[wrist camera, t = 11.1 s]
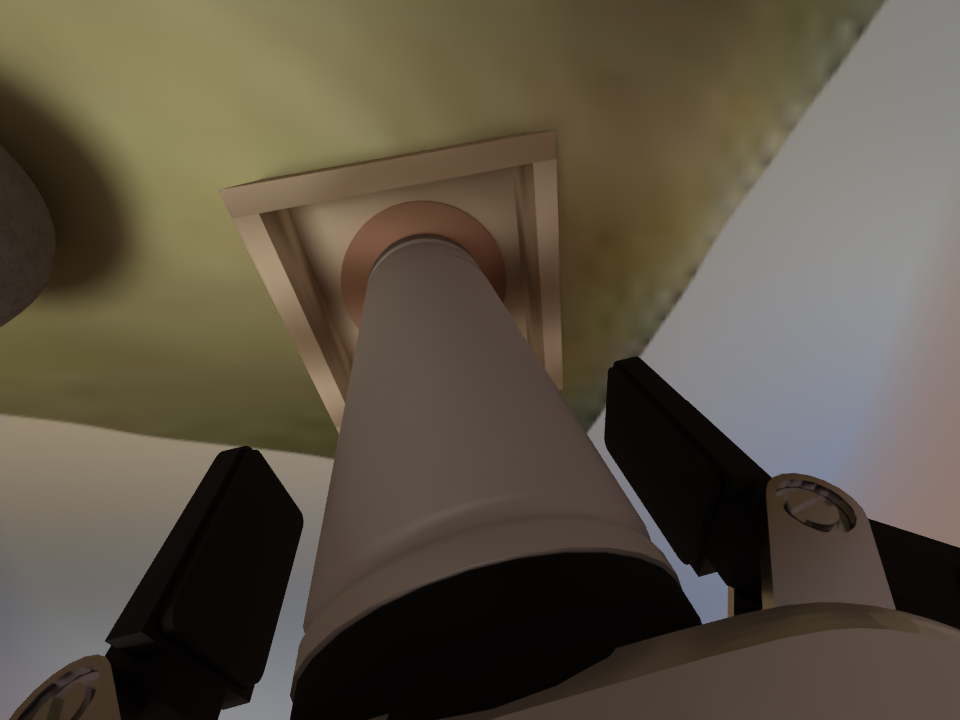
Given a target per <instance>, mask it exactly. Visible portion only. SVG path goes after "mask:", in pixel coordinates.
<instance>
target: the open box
mask: <svg viewBox="0 0 960 720" xmlns="http://www.w3.org/2000/svg"><path fill="white" fill-rule="evenodd" d="M218 191H219V193H220V195H221V197H222V199H223V201H224V203H225V205H226V207H227V209H228V211H229V213H230V215H231V217H232V219H233V221H234V223H235V225H236V227H237V229H238V231H239V233H240V235H241V237H242V239H243V241H244V243H245V245H246V247H247V249H248V251H249V253H250V255H251V257H252V259H253V261H254V263H255V265H256V267H257V269H258V271H259V273H260V275H261V277H262V279H263V281H264V283H265V285H266V287H267V289H268V291H269V293H270V295H271V297H272V300H273V302H274V304H275V306H276V308H277V310H278V312H279V314H280V316H281V318H282V320H283V322H284V324H285V326H286V328H287V330H288V332H289V334H290V336H291V338H292V340H293V342H294V344H295V346H296V348H297V350H298V352H299V354H300V356H301V358H302V360H303V362H304V364H305V366H306V368H307V370H308V372H309V374H310V376H311V378H312V380H313V382H314V384H315V386H316V388H317V390H318V392H319V394H320V396H321V398H322V400H323V402H324V404H325V406H326V409H327V411H328V413H329V415H330V417H331V419H332V421H333V423H334V425H335V427H336V429H337V431H338V433H340V428H341V423H342V417H343V412H344V407H345V401H346V396H347V391H348V386H349V380H350V375H351V370H352V364H353V359H354V354H355V348H356V343H357V338H358V333H359V327H360V322H361V317H362V311H363V306H364V301H365V296H366V290H367V285H368V280H369V274H370V271H371V269H372V267H373V264H374V262H375V261H376V260H377V258H378V257H379V255H380V254H381V253H382V252H383V251H384V250H385V249H386V248H387V247H388V246H389V245H391V244H393V243H394V242H396V241H398V240H400V239H402V238H405V237H408V236H411V235H417V234H434V235H440V236H443V237H446V238H449V239H451V240H453V241H455V242H457V243H459V244H460V245H461V246H462V247H464V248H465V249H466V250H467V251H468V252H469V253H470V254H471V255H472V257H473V258H474V259H475V261H476V262H477V264H478V265H479V267H480V269H481V270H482V271H483V273H484V275H485V276H486V278H487V279H488V281H489V282H490V284H491V286H492V287H493V289H494V290H495V292H496V293H497V295H498V296H499V298H500V300H501V301H502V303H503V304H504V306H505V307H506V309H507V310H508V312H509V314H510V315H511V317H512V318H513V320H514V321H515V323H516V324H517V326H518V328H519V329H520V331H521V332H522V334H523V335H524V337H525V339H526V340H527V342H528V343H529V345H530V346H531V348H532V349H533V351H534V353H535V354H536V356H537V357H538V359H539V360H540V362H541V363H542V365H543V367H544V368H545V370H546V371H547V373H548V374H549V376H550V378H551V379H552V381H553V382H554V384H555V385H556V387H557V388H558V390H562V389H563V372H562V336H561V300H560V264H559V227H558V191H557V155H556V130H550V131H539V132H528V133H521V134H515V135H509V136H504V137H498V138H493V139H487V140H481V141H476V142H470V143H464V144H459V145H453V146H448V147H442V148H436V149H431V150H425V151H419V152H414V153H408V154H403V155H397V156H391V157H386V158H380V159H374V160H369V161H363V162H357V163H352V164H346V165H341V166H335V167H329V168H324V169H318V170H312V171H307V172H301V173H296V174H290V175H284V176H279V177H273V178H267V179H262V180H257V181H253V182H249V183H245V184H241V185H237V186H233V187H229V188H225V189H221V190H218Z"/></svg>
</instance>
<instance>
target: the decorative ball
mask: <svg viewBox="0 0 960 720" xmlns="http://www.w3.org/2000/svg"><path fill="white" fill-rule="evenodd" d="M55 254H56V236H55V229H54V224H53V222H52V219H51V216H50V213H49V211H48V208H47V206H46V204H45V202H44V200H43V198H42V196H41V194H40V193H39V191H38V190H37V188H36V186H35V184H34V183H33V182H32V180H31V179H30V178H29V176H28V175H27V174H26V172H25V171H24V170H23V168H22V167H21V166H20V165H19V164H18V163H17V162H16V161H15V159H14V158H13V157H12V156H11V155H10V154H9V153H8V152H7V151H6V150H5V149H4V148H3V147H2V146H1V145H0V327H1V326H3V325H5V324H6V323H7V322H9V321H10V320H12V319H13V318H14V317H16V316H17V315H19V314H20V313H21V312H22V311H23V310H25V309H26V308H27V307H28V306H29V305H30V304H31V303H32V302H33V301H34V300H35V299H36V298H37V297H38V295H39V294H40V293H41V291H42V290H43V288H44V287H45V286H46V283H47V281H48V279H49V277H50V274H51V272H52V269H53V266H54V261H55Z"/></svg>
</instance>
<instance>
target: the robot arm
mask: <svg viewBox="0 0 960 720" xmlns="http://www.w3.org/2000/svg"><path fill="white" fill-rule="evenodd" d="M604 440H605V444H606V447H607V450H608V451H609V453H610V455H611V456H612V458H613V459H614V460H615V462H616V463H617V465H618V467H619V468H620V470H621V471H622V473H623V474H624V476H625V477H626V479H627V480H628V482H629V483H630V485H631V486H632V488H633V489H634V491H635V492H636V494H637V496H638V497H639V499H640V500H641V502H642V503H643V505H644V506H645V508H646V509H647V510H648V512H649V514H650V515H651V517H652V518H653V520H654V521H655V523H656V524H657V526H658V527H659V529H660V530H661V532H662V533H663V535H664V536H665V538H666V539H667V541H668V543H669V544H670V546H671V547H672V549H673V550H674V552H675V553H676V555H677V556H678V558H679V559H680V560H681V561H682V562H683V563H684V564H687V565H688V564H690V565H691V566H692V568H693V569H694V571H695V572H696V574H697V575H698V577H700V576H703V575H707V574H711V573H714V572H718V574H719V575H720V577H721V578H722V579H723V581H724V582H725V583H726V585H728V618H725V619H722V620H718V621H714V622H710V623H706V624H702V625H699V626H695V627H691V628H687V629H683V630H679V631H676V632H672V633H668V634H664V635H661V636H657V637H654V638H650V639H647V640H643V641H640V642H636V643H633V644H629V645H626V646H622V647H619V648H615V651H614V652H613V653H612V654H611V655H610V656H609V657H608V658H606V659H604V660H602V661H601V662H599V663H597V664H595V665H593V666H591V667H589V668H587V669H586V670H584V671H582V672H580V673H578V674H577V675H575V676H573V677H571V678H570V679H568V680H566V681H564V682H562V683H561V684H559V685H557V686H554V687H552V688H549V689H546V690H543V691H541V692H538V693H535V694H533V695H530V696H527V697H524V698H522V699H519V700H516V701H514V702H511V703H508V704H505V705H503V706H500V707H497V708H494V709H491V710H485V711H480V712H475V713H470V714H465V715H460V716H454V717H449V718H444V719H439V720H960V548H958V547H955V546H952V545H949V544H946V543H943V542H940V541H936V540H933V539H930V538H927V537H924V536H921V535H918V534H915V533H912V532H908V531H905V530H902V529H899V528H896V527H893V526H890V525H887V524H883V523H880V522H877V521H874V520H871V519H868V518H867V516H866V514H865V512H864V510H863V509H862V507H861V506H860V505H859V504H858V503H857V502H856V501H855V500H854V499H853V498H852V497H851V496H849V495H848V494H847V493H845V492H844V491H842V490H841V489H840V488H838V487H836V486H834V485H832V484H830V483H828V482H826V481H824V480H821V479H818V478H815V477H812V476H809V475H803V474H796V473H789V474H781V475H778V476H775V477H773V478H771V477H770V476H769V475H768V474H767V473H766V472H765V471H764V470H763V469H762V468H761V467H759V466H758V465H757V464H756V463H755V462H754V461H753V460H752V459H750V458H749V457H748V456H747V455H746V454H745V453H744V452H743V451H742V450H741V449H740V448H739V447H738V446H736V445H735V444H734V443H733V442H732V441H731V440H730V439H729V438H728V437H727V436H725V435H724V434H723V433H722V432H721V431H720V430H719V429H718V428H717V427H716V426H715V425H713V424H712V423H711V422H710V421H709V420H708V419H707V418H706V417H705V416H704V415H702V414H701V413H700V412H699V411H698V410H697V409H696V408H695V407H693V406H692V405H691V404H690V403H689V402H688V401H687V400H685V399H684V398H683V397H682V396H681V395H680V394H678V393H677V392H676V391H675V390H674V389H673V388H672V387H671V386H670V385H669V384H668V383H667V382H666V381H664V380H663V379H662V378H661V377H660V376H659V375H658V374H657V373H656V372H655V371H654V370H652V369H651V368H650V367H649V366H648V365H647V364H646V363H645V362H644V361H643V360H641V359H640V358H639V357H631V358H627V359H623V360H618V361H616V362H615V363H614V365H613V367H612V368H609V370H608V382H607V399H606V417H605V437H604ZM302 528H303V516H302V513H301V511H300V510H299V508H298V507H297V505H296V504H295V503H294V501H293V499H292V498H291V497H290V495H289V494H288V492H287V491H286V489H285V488H284V486H283V485H282V484H281V482H280V480H279V479H278V478H277V476H276V475H275V473H274V472H273V470H272V469H271V468H270V466H269V465H268V463H267V462H266V460H265V459H264V457H263V456H262V454H261V453H260V452H259V451H258V450H253V449H252V448H251V447H249V446H243V447H239V448H234V449H230V450H226V451H222V452H220V453H219V454H218V455H217V457H216V458H215V460H214V461H213V463H212V465H211V466H210V468H209V470H208V472H207V473H206V475H205V476H204V478H203V480H202V481H201V483H200V485H199V486H198V488H197V490H196V491H195V493H194V495H193V496H192V498H191V499H190V501H189V503H188V504H187V506H186V508H185V509H184V511H183V513H182V514H181V516H180V518H179V519H178V521H177V523H176V524H175V526H174V528H173V530H172V531H171V533H170V534H169V536H168V538H167V539H166V541H165V542H164V544H163V546H162V547H161V549H160V551H159V553H158V554H157V556H156V557H155V559H154V561H153V562H152V564H151V566H150V567H149V569H148V570H147V573H146V574H145V575H144V577H143V579H142V580H141V582H140V584H139V585H138V587H137V589H136V590H135V592H134V594H133V595H132V597H131V599H130V600H129V602H128V604H127V605H126V607H125V608H124V610H123V612H122V613H121V615H120V617H119V619H118V620H117V622H116V623H115V625H114V627H113V628H112V630H111V632H110V633H109V635H108V637H107V638H106V640H105V642H107V643H109V644H110V645H111V647H110V648H109V650H108V652H107V653H106V655H105V657H104V656H101V655H92V656H86V657H83V658H81V659H79V660H77V661H74V662H72V663H70V664H68V665H67V666H65V667H64V668H62V669H61V670H59V671H58V672H56V673H55V674H53V675H52V676H51V677H49V679H47V680H46V681H45V682H44V683H42V684H41V685H40V686H39V687H38V688H37V689H36V690H34V691H33V692H32V693H31V695H29V697H28V698H27V699H26V700H25V701H24V702H23V703H22V704H21V705H20V706H19V707H18V708H17V710H16V711H15V712H14V714H13V715H12V716H11V718H10V719H9V720H218V717H219V714H220V711H221V709H223V710H224V709H228V708H231V707H235V706H238V705H242V704H246V703H249V702H250V700H251V696H252V692H253V689H254V685H255V684H256V683H258V682H259V681H260V679H261V677H262V675H263V673H264V670H265V666H266V663H267V659H268V655H269V651H270V647H271V644H272V640H273V636H274V633H275V629H276V625H277V622H278V618H279V614H280V611H281V607H282V603H283V599H284V596H285V592H286V588H287V584H288V581H289V576H290V573H291V570H292V566H293V562H294V558H295V554H296V551H297V547H298V543H299V539H300V536H301V532H302ZM388 715H389V714H386V715H382V716H379V717H376V718H372V719H369V720H387V717H388Z"/></svg>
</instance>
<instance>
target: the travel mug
mask: <svg viewBox="0 0 960 720" xmlns="http://www.w3.org/2000/svg"><path fill="white" fill-rule="evenodd" d="M699 625H702V623H701V620H700V617H699V616H698V614H697V613H696V611H695V609H694V608H693V606H692V605H691V603H690V602H689V600H688V598H687V597H686V595H685V594H684V592H683V591H682V588H681V585H680V582H679V579H678V576H677V574H676V572H675V571H674V569H673V568H672V566H671V565H670V563H669V562H668V560H667V558H666V557H665V555H664V554H663V552H661V551H660V550H659V549H658V548H657V547H656V546H655V545H654V544H653V543H652V542H651V539H650V537H649V534H648V531H647V529H646V526H645V524H644V523H643V521H642V519H641V518H640V516H639V515H638V513H637V512H636V510H635V508H634V507H633V506H632V504H631V502H630V501H629V499H628V498H627V496H626V494H625V493H624V491H623V490H622V488H621V487H620V485H619V484H618V482H617V480H616V479H615V477H614V476H613V474H612V473H611V471H610V470H609V468H608V467H607V465H606V463H605V462H604V460H603V459H602V457H601V455H600V454H599V452H598V451H597V449H596V448H595V446H594V445H593V443H592V441H591V440H590V438H589V437H588V435H587V434H586V432H585V431H584V429H583V427H582V426H581V424H580V423H579V421H578V420H577V418H576V416H575V415H574V413H573V412H572V410H571V409H570V407H569V406H568V404H567V402H566V401H565V399H564V398H563V396H562V395H561V393H560V392H559V390H558V388H557V387H556V385H555V384H554V382H553V381H552V379H551V378H550V376H549V374H548V373H547V371H546V370H545V368H544V367H543V365H542V363H541V362H540V360H539V359H538V357H537V356H536V354H535V353H534V351H533V349H532V348H531V346H530V345H529V343H528V342H527V340H526V339H525V337H524V335H523V334H522V332H521V331H520V329H519V328H518V326H517V324H516V323H515V321H514V320H513V318H512V317H511V315H510V314H509V312H508V310H507V309H506V307H505V306H504V304H503V303H502V301H501V300H500V298H499V296H498V295H497V293H496V292H495V290H494V289H493V287H492V286H491V284H490V282H489V281H488V279H487V278H486V276H485V275H484V273H483V271H482V270H481V269H480V267H479V265H478V264H477V262H476V261H475V259H474V258H473V257H472V255H471V254H470V253H469V252H468V251H467V250H466V249H465V248H464V247H462V246H461V245H460V244H459V243H457V242H455V241H453V240H451V239H449V238H446V237H443V236H440V235H434V234H417V235H411V236H408V237H405V238H402V239H400V240H398V241H396V242H394V243H393V244H391V245H389V246H388V247H387V248H386V249H385V250H384V251H383V252H382V253H381V254H380V255H379V257H378V258H377V260H376V261H375V262H374V264H373V267H372V269H371V271H370V274H369V280H368V285H367V290H366V296H365V301H364V306H363V311H362V317H361V322H360V327H359V333H358V338H357V343H356V348H355V354H354V359H353V364H352V370H351V375H350V380H349V386H348V391H347V396H346V401H345V407H344V412H343V417H342V423H341V428H340V433H339V438H338V444H337V449H336V454H335V460H334V465H333V471H332V476H331V482H330V486H329V492H328V497H327V502H326V507H325V513H324V518H323V523H322V528H321V534H320V539H319V544H318V550H317V555H316V560H315V566H314V571H313V576H312V581H311V587H310V593H309V597H308V602H307V608H306V613H305V619H304V624H303V628H304V632H305V635H304V637H303V638H302V640H301V643H300V645H299V650H298V656H297V661H296V666H295V671H294V677H293V682H292V688H291V693H290V697H291V700H292V702H293V706H292V711H291V717H290V720H369V719H372V718H376V717H379V716H382V715H386V714H389V715H388V717H387V720H439V719H444V718H449V717H454V716H460V715H465V714H470V713H475V712H480V711H485V710H491V709H494V708H497V707H500V706H503V705H505V704H508V703H511V702H514V701H516V700H519V699H522V698H524V697H527V696H530V695H533V694H535V693H538V692H541V691H543V690H546V689H549V688H552V687H554V686H557V685H559V684H561V683H562V682H564V681H566V680H568V679H570V678H571V677H573V676H575V675H577V674H578V673H580V672H582V671H584V670H586V669H587V668H589V667H591V666H593V665H595V664H597V663H599V662H601V661H602V660H604V659H606V658H608V657H609V656H610V655H611V654H612V653H613V652H614V651H615V648H619V647H622V646H626V645H629V644H633V643H636V642H640V641H643V640H647V639H650V638H654V637H657V636H661V635H664V634H668V633H672V632H676V631H679V630H683V629H687V628H691V627H695V626H699Z"/></svg>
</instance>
